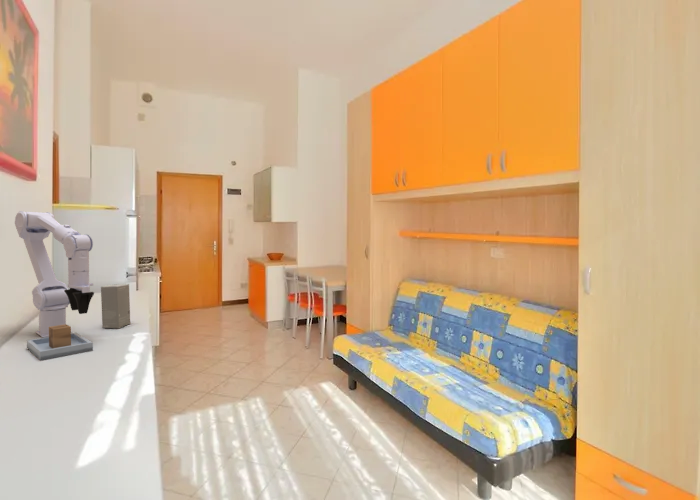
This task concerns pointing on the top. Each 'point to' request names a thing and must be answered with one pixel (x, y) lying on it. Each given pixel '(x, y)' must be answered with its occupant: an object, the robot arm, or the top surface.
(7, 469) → the top surface
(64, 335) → the walnut block
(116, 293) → the skincare box
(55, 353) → the tray
